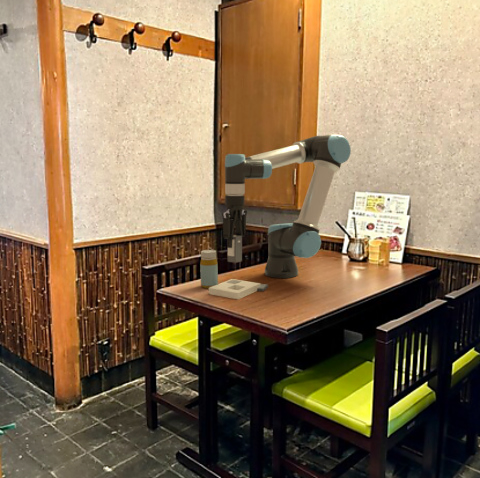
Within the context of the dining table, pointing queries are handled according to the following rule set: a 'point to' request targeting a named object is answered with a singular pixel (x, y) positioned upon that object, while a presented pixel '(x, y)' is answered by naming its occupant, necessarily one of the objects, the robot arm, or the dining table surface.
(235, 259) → the block
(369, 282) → the dining table surface
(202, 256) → the bottle
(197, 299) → the dining table surface
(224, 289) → the plate
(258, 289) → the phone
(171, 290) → the dining table surface
